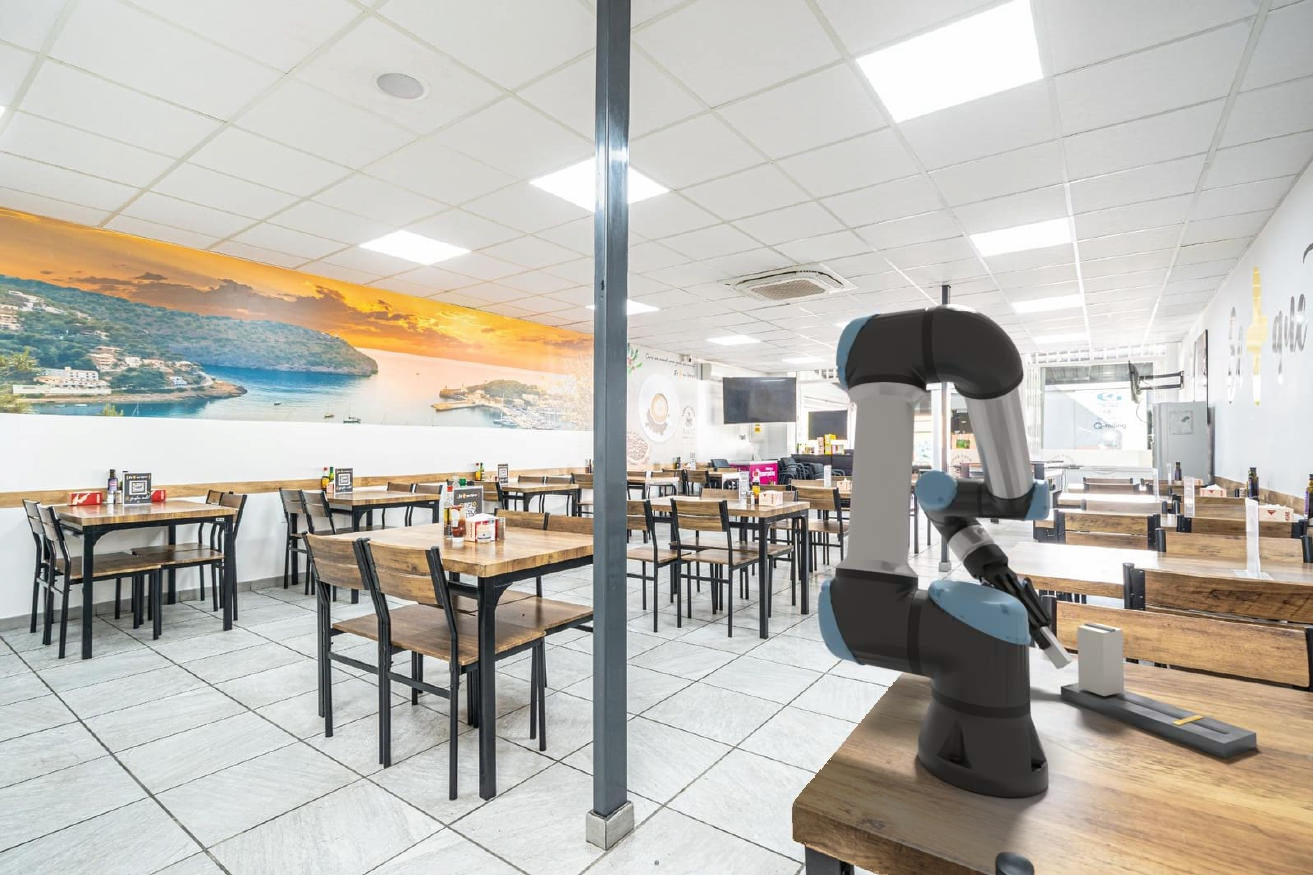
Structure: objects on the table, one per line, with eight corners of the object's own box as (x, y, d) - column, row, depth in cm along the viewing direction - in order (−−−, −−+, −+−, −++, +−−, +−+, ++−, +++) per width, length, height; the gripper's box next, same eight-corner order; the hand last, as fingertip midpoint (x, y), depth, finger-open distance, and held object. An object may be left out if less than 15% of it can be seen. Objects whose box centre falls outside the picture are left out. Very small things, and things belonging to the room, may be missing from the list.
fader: (1078, 687, 101) (1077, 624, 102) (1097, 682, 103) (1096, 621, 104) (1104, 696, 98) (1103, 631, 98) (1124, 691, 99) (1122, 627, 100)
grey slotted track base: (1060, 698, 102) (1060, 685, 102) (1091, 691, 106) (1091, 678, 106) (1224, 758, 82) (1224, 742, 82) (1256, 747, 85) (1256, 731, 85)
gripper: (966, 543, 117) (1055, 659, 101) (1013, 539, 122) (1105, 648, 106) (944, 567, 121) (1025, 680, 106) (990, 562, 126) (1074, 670, 111)
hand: (1065, 664), depth 106 cm, fingers closed
